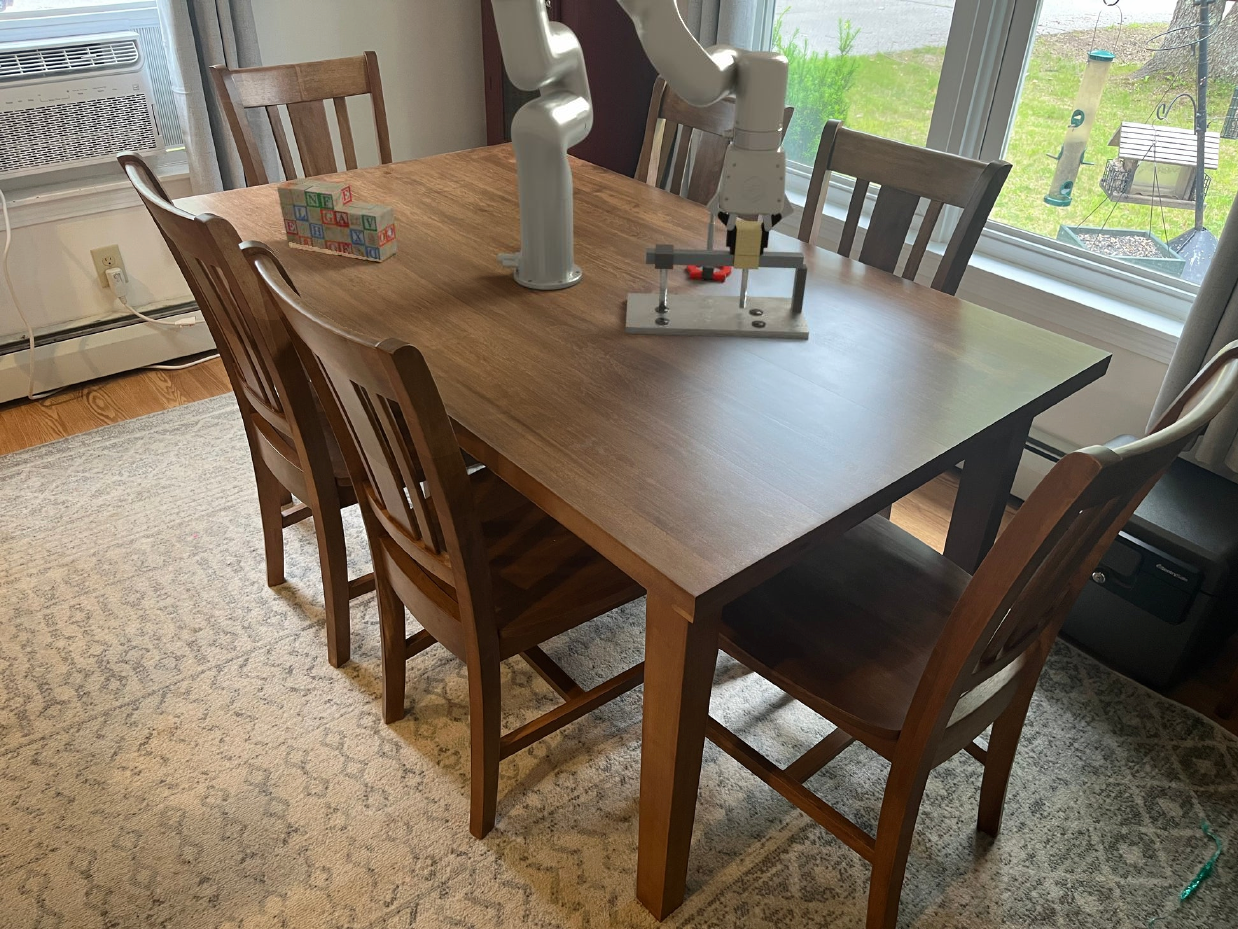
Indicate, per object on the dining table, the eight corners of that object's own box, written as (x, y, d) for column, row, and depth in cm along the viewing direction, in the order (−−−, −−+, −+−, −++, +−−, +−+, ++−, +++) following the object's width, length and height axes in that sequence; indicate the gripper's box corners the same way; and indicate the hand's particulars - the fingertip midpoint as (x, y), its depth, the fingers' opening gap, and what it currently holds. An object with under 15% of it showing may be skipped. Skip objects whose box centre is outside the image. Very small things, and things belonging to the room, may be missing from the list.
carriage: (730, 308, 161) (737, 230, 154) (728, 297, 165) (735, 220, 158) (754, 308, 161) (761, 230, 154) (751, 298, 165) (759, 221, 158)
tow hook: (688, 263, 185) (684, 279, 177) (693, 197, 178) (689, 210, 171) (732, 267, 184) (729, 283, 176) (738, 200, 178) (736, 213, 170)
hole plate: (625, 333, 157) (625, 326, 157) (627, 299, 169) (627, 292, 168) (808, 338, 157) (809, 331, 156) (797, 304, 168) (798, 297, 168)
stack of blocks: (399, 253, 186) (391, 190, 179) (381, 264, 181) (373, 200, 174) (307, 238, 192) (296, 176, 186) (287, 248, 187) (276, 185, 181)
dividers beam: (644, 310, 162) (646, 253, 157) (644, 299, 166) (646, 243, 160) (802, 315, 162) (810, 258, 156) (799, 304, 165) (806, 248, 160)
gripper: (703, 143, 145) (696, 258, 155) (814, 146, 145) (799, 261, 155) (701, 130, 152) (694, 242, 162) (807, 133, 151) (794, 244, 161)
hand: (746, 250), depth 158 cm, fingers closed on carriage, 4 cm apart
